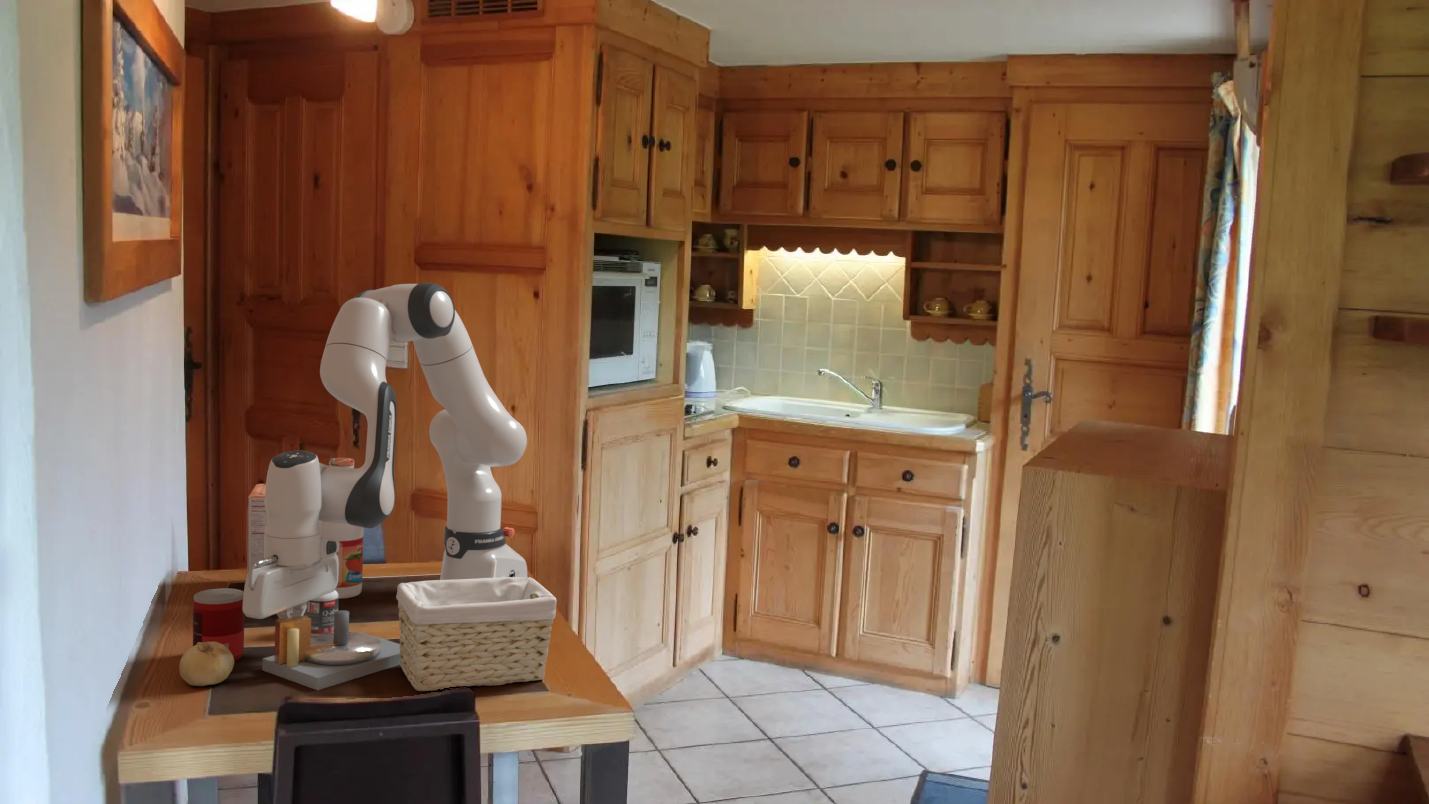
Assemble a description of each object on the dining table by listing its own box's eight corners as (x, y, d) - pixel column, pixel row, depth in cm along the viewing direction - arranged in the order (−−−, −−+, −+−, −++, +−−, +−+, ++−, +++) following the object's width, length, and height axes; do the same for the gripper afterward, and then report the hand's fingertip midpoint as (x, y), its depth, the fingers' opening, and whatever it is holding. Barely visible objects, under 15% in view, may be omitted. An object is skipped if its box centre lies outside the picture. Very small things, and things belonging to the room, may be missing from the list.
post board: (360, 642, 202) (361, 593, 201) (414, 660, 194) (416, 608, 194) (262, 670, 185) (263, 616, 184) (317, 690, 178) (319, 634, 177)
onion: (171, 680, 178) (171, 636, 178) (222, 670, 184) (222, 628, 183) (189, 695, 173) (190, 650, 172) (241, 684, 178) (242, 641, 178)
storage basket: (527, 653, 202) (531, 573, 200) (556, 683, 187) (560, 597, 186) (391, 666, 191) (394, 581, 190) (410, 699, 177) (413, 607, 175)
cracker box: (253, 580, 238) (255, 482, 237) (283, 580, 240) (286, 483, 238) (244, 598, 225) (246, 495, 223) (276, 597, 227) (279, 495, 225)
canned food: (253, 655, 192) (255, 592, 191) (217, 668, 185) (218, 602, 184) (219, 647, 195) (220, 585, 194) (182, 660, 188) (182, 595, 187)
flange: (264, 650, 188) (265, 611, 188) (363, 636, 199) (364, 598, 198) (289, 673, 178) (290, 631, 177) (393, 657, 189) (394, 617, 188)
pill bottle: (326, 639, 203) (328, 585, 202) (298, 635, 204) (299, 581, 203) (343, 630, 208) (344, 577, 208) (315, 626, 210) (316, 574, 209)
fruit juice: (316, 587, 236) (320, 455, 233) (363, 587, 238) (367, 456, 235) (310, 599, 227) (314, 462, 224) (359, 599, 229) (363, 463, 226)
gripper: (266, 565, 176) (265, 651, 178) (345, 539, 196) (344, 617, 197) (232, 560, 178) (232, 645, 180) (315, 535, 198) (313, 612, 199)
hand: (291, 630), depth 189 cm, fingers closed
